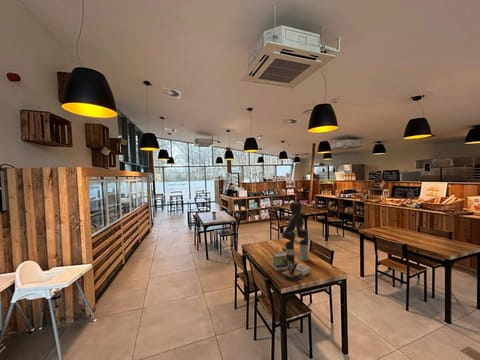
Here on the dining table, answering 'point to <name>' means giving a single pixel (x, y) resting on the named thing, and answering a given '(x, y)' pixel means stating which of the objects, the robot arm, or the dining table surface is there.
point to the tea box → (279, 261)
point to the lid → (290, 274)
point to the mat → (291, 278)
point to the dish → (302, 269)
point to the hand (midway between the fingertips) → (291, 271)
